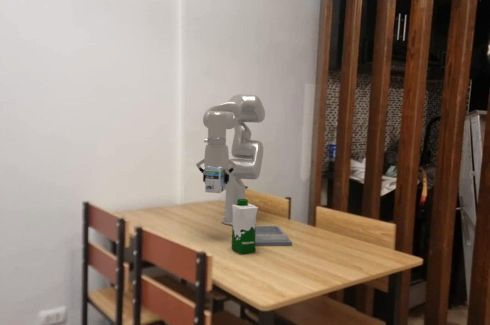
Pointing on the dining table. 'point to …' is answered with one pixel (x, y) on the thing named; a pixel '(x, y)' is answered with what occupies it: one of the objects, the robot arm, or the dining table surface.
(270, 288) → the dining table surface
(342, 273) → the dining table surface
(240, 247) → the milk carton
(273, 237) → the aluminium frame
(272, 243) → the dock board
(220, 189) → the light bulb box
